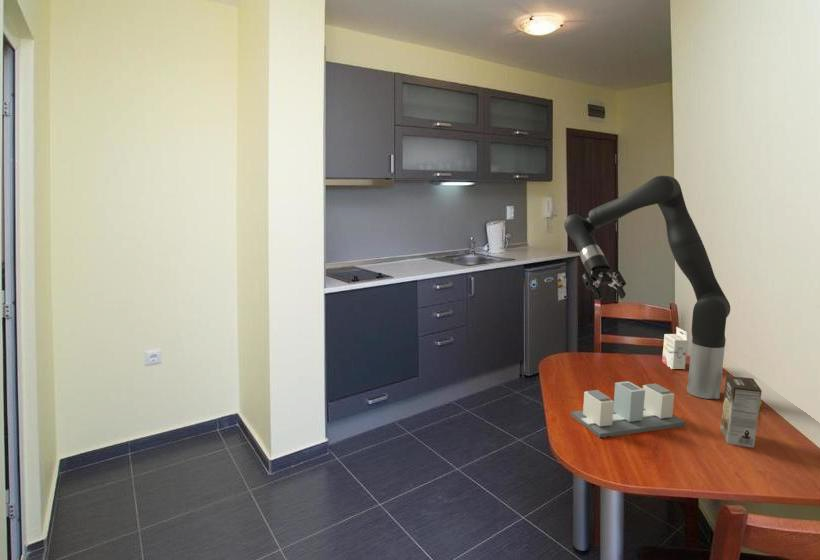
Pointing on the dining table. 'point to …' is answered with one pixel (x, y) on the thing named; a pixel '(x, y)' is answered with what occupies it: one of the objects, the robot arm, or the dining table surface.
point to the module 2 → (658, 400)
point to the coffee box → (740, 411)
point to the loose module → (629, 401)
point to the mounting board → (629, 424)
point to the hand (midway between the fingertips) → (612, 298)
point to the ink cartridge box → (675, 349)
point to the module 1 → (598, 407)
